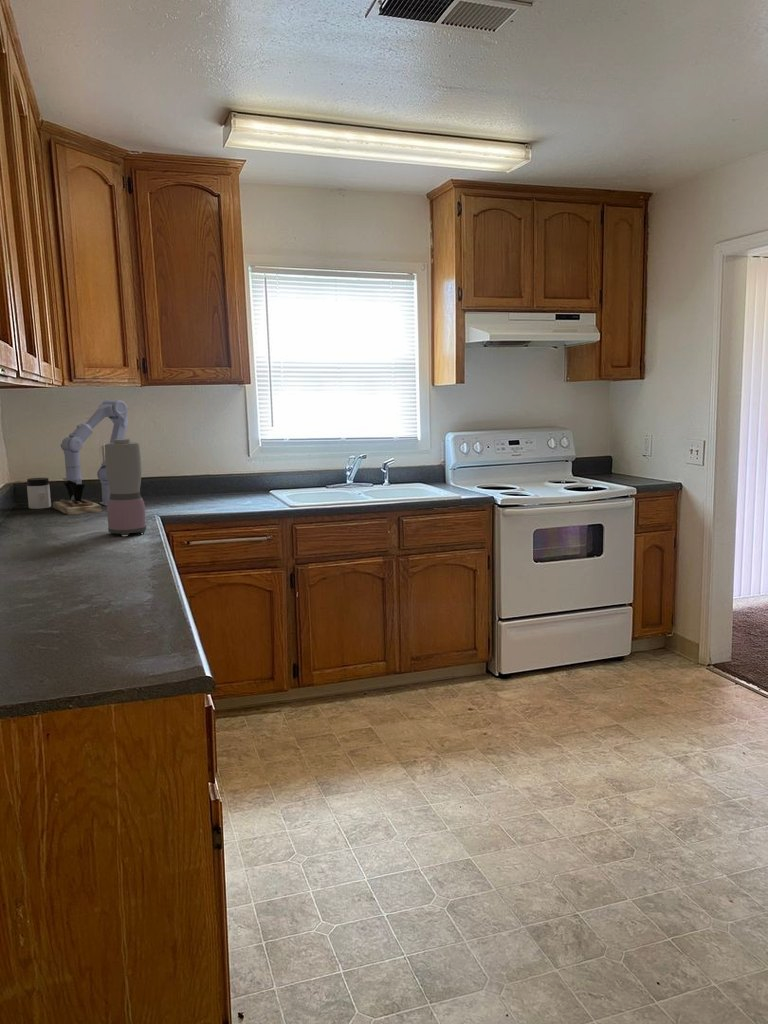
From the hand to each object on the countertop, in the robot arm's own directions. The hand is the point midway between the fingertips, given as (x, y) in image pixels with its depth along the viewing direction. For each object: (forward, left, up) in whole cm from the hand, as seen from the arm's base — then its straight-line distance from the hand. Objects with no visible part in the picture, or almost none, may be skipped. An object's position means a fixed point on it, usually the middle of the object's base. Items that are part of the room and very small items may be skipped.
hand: (75, 499), depth 306 cm
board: (0, +1, -4) cm, 4 cm away
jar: (+10, -15, -4) cm, 18 cm away
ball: (0, +1, +1) cm, 1 cm away
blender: (+1, +64, -4) cm, 64 cm away
